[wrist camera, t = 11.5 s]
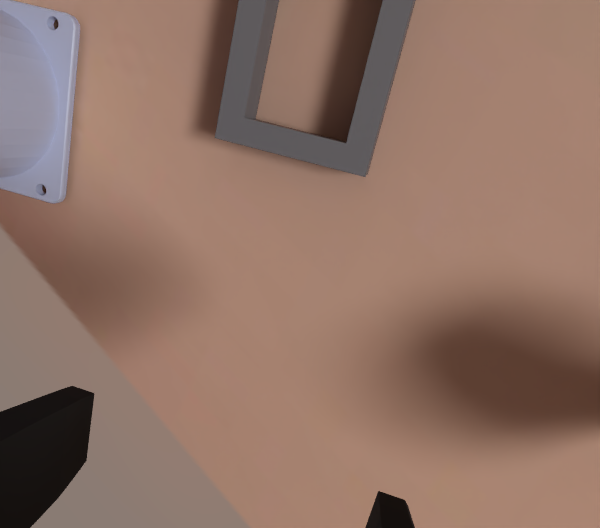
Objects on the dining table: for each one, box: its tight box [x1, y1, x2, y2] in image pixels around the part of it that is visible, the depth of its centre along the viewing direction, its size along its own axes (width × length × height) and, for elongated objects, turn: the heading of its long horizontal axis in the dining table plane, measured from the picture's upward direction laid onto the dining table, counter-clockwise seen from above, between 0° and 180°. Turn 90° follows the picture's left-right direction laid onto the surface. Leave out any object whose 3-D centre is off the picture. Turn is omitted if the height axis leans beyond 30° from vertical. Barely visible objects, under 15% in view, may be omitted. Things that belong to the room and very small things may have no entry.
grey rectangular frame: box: [215, 0, 415, 177], centre depth 17 cm, size 6×8×2 cm
